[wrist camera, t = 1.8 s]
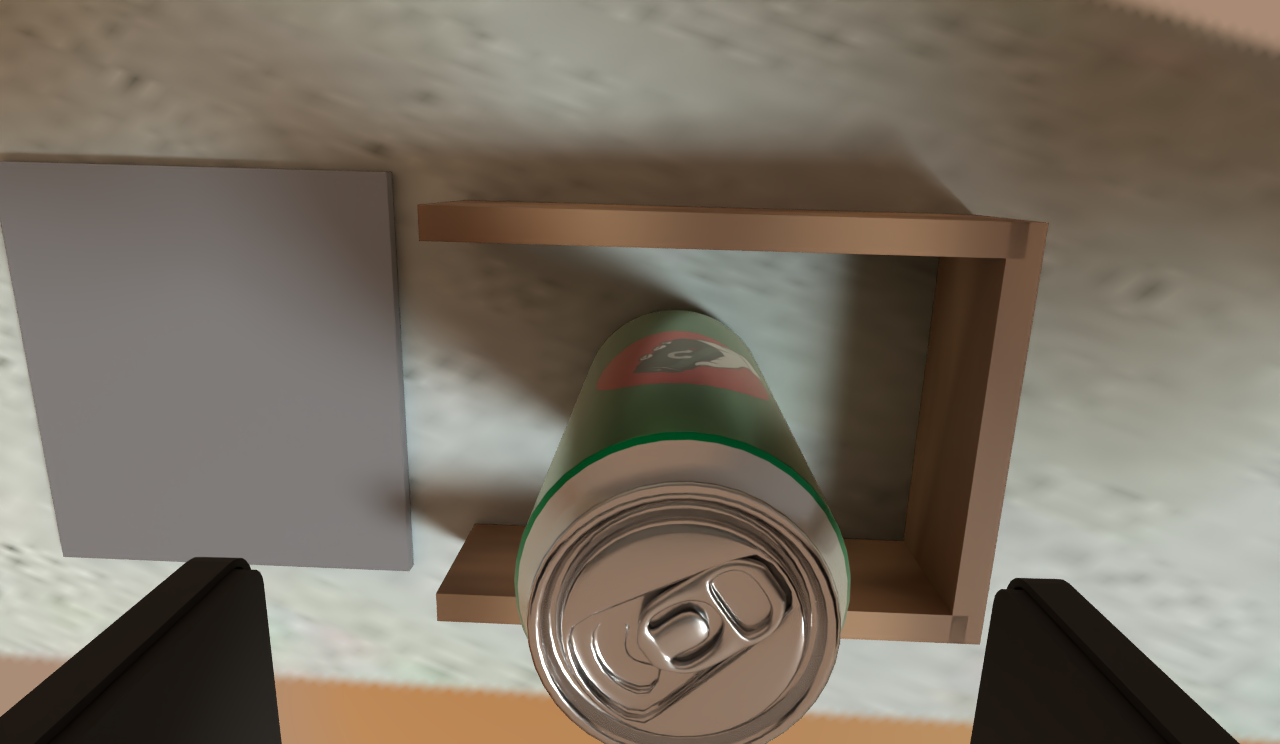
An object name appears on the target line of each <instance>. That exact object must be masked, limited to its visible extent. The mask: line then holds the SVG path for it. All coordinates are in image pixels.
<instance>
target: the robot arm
mask: <svg viewBox="0 0 1280 744" xmlns="http://www.w3.org/2000/svg"><path fill="white" fill-rule="evenodd" d="M0 744H282V743H281V734H280V725H279V717H278V707H277V698H276V689H275V681H274V672H273V663H272V654H271V645H270V636H269V627H268V618H267V609H266V600H265V591H264V582H263V578H262V575H261V573H260V572H259V571H257V570H251V568H250V565H249V564H248V562H247V561H246V560H245V559H243V558H226V557H194V558H192V559H190V560H189V561H187V562H186V563H185V564H184V565H182V566H181V567H180V568H179V569H178V570H176V571H175V572H174V573H173V574H172V575H170V576H169V577H168V578H167V579H166V580H164V581H163V582H162V583H161V584H160V585H158V586H157V587H156V588H155V589H154V590H152V591H151V592H150V593H149V594H148V595H146V596H145V597H144V598H143V599H142V600H140V601H139V602H138V603H137V604H136V605H134V606H133V607H132V608H131V609H130V610H128V611H127V612H126V613H125V614H124V615H122V616H121V617H120V618H119V619H118V620H116V621H115V622H114V623H113V624H111V625H110V626H109V627H108V628H107V629H105V630H104V631H103V632H102V633H101V634H99V635H98V636H97V637H96V638H95V639H93V640H92V641H91V642H90V643H89V644H87V645H86V646H85V647H84V648H83V649H81V650H80V651H79V652H78V653H77V654H75V655H74V656H73V657H72V658H71V659H69V660H68V661H67V662H66V663H65V664H63V665H62V666H61V667H60V668H59V669H57V670H56V671H55V672H54V673H53V674H51V675H50V676H49V677H48V678H47V679H45V680H44V681H43V682H42V683H41V684H40V685H38V686H37V687H36V688H35V689H33V691H31V692H30V693H29V694H27V695H26V696H25V697H24V698H23V699H21V700H20V701H19V702H18V703H17V704H16V705H14V706H13V707H12V708H11V709H10V710H8V711H7V712H6V713H5V714H3V715H2V716H1V717H0ZM970 744H1239V743H1238V742H1237V741H1236V740H1235V739H1234V738H1233V737H1232V736H1231V735H1230V734H1229V733H1228V732H1227V731H1226V730H1224V729H1223V728H1222V727H1221V726H1220V725H1219V724H1218V723H1217V722H1216V721H1215V720H1214V719H1213V718H1212V717H1211V716H1210V715H1208V714H1207V713H1206V712H1205V711H1204V710H1203V709H1202V708H1201V707H1200V706H1199V705H1198V704H1197V703H1196V702H1195V701H1194V700H1193V699H1191V698H1190V697H1189V696H1188V695H1187V694H1186V693H1185V692H1184V691H1183V690H1182V689H1181V688H1180V687H1179V686H1178V685H1177V684H1176V683H1174V682H1173V681H1172V680H1171V679H1170V678H1169V677H1168V676H1167V675H1166V674H1165V673H1164V672H1163V671H1162V670H1161V669H1160V668H1159V667H1157V666H1156V665H1155V664H1154V663H1153V662H1152V661H1151V660H1150V659H1149V658H1148V657H1147V656H1146V655H1145V654H1144V653H1143V652H1141V651H1140V650H1139V649H1138V648H1137V647H1136V646H1135V645H1134V644H1133V643H1132V642H1131V641H1130V640H1129V639H1128V638H1127V637H1126V636H1124V635H1123V634H1122V633H1121V632H1120V631H1119V630H1118V629H1117V628H1116V627H1115V626H1114V625H1113V624H1112V623H1111V622H1110V621H1109V620H1107V619H1106V618H1105V617H1104V616H1103V615H1102V614H1101V613H1100V612H1099V611H1098V610H1097V609H1096V608H1095V607H1094V606H1093V605H1092V604H1090V603H1089V602H1088V601H1087V600H1086V599H1085V598H1084V597H1083V596H1082V595H1081V594H1080V593H1079V592H1078V591H1077V590H1076V589H1074V588H1073V587H1072V586H1071V585H1070V584H1069V583H1068V582H1066V581H1064V580H1061V579H1033V578H1015V579H1013V580H1012V581H1011V582H1010V584H1009V585H1008V587H1007V589H1001V590H999V591H998V592H997V593H996V595H995V598H994V602H993V608H992V614H991V620H990V626H989V632H988V639H987V645H986V651H985V657H984V663H983V669H982V675H981V681H980V687H979V693H978V699H977V706H976V712H975V718H974V724H973V730H972V736H971V742H970Z"/></svg>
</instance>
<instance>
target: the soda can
mask: <svg viewBox="0 0 1280 744" xmlns="http://www.w3.org/2000/svg"><path fill="white" fill-rule="evenodd" d="M850 581H851V575H850V567H849V560H848V553H847V549H846V546H845V543H844V540H843V537H842V534H841V531H840V528H839V526H838V524H837V522H836V520H835V518H834V516H833V514H832V512H831V510H830V508H829V506H828V504H827V502H826V500H825V498H824V496H823V494H822V492H821V490H820V488H819V486H818V484H817V482H816V480H815V478H814V476H813V474H812V472H811V470H810V468H809V466H808V464H807V462H806V460H805V458H804V456H803V454H802V452H801V450H800V448H799V446H798V444H797V442H796V440H795V438H794V436H793V434H792V432H791V430H790V428H789V426H788V424H787V422H786V420H785V418H784V416H783V414H782V412H781V410H780V408H779V406H778V404H777V402H776V400H775V398H774V396H773V394H772V393H771V391H770V389H769V387H768V385H767V383H766V381H765V379H764V377H763V375H762V373H761V371H760V369H759V367H758V365H757V363H756V361H755V359H754V357H753V355H752V353H751V351H750V350H749V348H748V347H747V346H746V344H745V343H744V342H743V340H742V339H741V338H740V337H739V336H738V335H737V334H736V333H734V332H733V331H732V330H731V329H730V328H728V327H727V326H725V325H724V324H722V323H721V322H719V321H717V320H715V319H713V318H711V317H709V316H707V315H703V314H700V313H696V312H693V311H685V310H663V311H657V312H652V313H648V314H646V315H643V316H640V317H637V318H635V319H633V320H632V321H630V322H628V323H626V324H624V325H623V326H622V327H620V328H619V329H618V330H617V331H615V332H614V333H613V334H612V335H611V336H610V337H609V338H608V339H607V340H606V341H605V342H604V344H603V345H602V346H601V348H600V349H599V351H598V352H597V354H596V356H595V358H594V360H593V362H592V365H591V367H590V369H589V372H588V374H587V377H586V379H585V381H584V384H583V386H582V389H581V391H580V394H579V396H578V399H577V401H576V404H575V406H574V409H573V411H572V414H571V416H570V418H569V421H568V423H567V426H566V428H565V431H564V433H563V436H562V438H561V441H560V443H559V446H558V448H557V451H556V453H555V455H554V458H553V460H552V463H551V465H550V468H549V470H548V473H547V475H546V478H545V480H544V483H543V485H542V488H541V490H540V492H539V495H538V497H537V500H536V502H535V505H534V507H533V510H532V512H531V515H530V517H529V520H528V522H527V525H526V527H525V529H524V532H523V534H522V538H521V542H520V546H519V550H518V553H517V557H516V567H515V579H514V584H515V595H516V605H517V609H518V613H519V616H520V620H521V624H522V628H523V630H524V632H525V634H526V636H527V639H528V643H529V648H530V652H531V655H532V659H533V663H534V666H535V669H536V671H537V673H538V675H539V677H540V680H541V682H542V684H543V686H544V687H545V689H546V690H547V692H548V693H549V695H550V696H551V698H552V699H553V701H554V702H555V704H556V705H557V706H558V707H559V708H560V709H561V710H562V711H563V712H564V713H565V715H566V716H567V717H568V718H569V719H570V720H571V721H573V722H574V723H575V724H576V725H577V726H579V727H580V728H581V729H583V730H584V731H585V732H586V733H587V734H589V735H591V736H592V737H594V738H596V739H597V740H599V741H601V742H603V743H604V744H766V743H768V742H769V741H771V740H773V739H774V738H776V737H778V736H779V735H781V734H782V733H784V732H785V731H786V730H787V729H789V728H790V727H791V726H792V725H794V724H795V723H796V722H797V721H798V720H799V719H801V718H802V717H803V715H804V714H805V713H806V712H807V711H808V710H809V709H810V707H811V706H812V705H813V704H814V703H815V702H816V700H817V699H818V697H819V695H820V694H821V692H822V691H823V689H824V687H825V686H826V684H827V682H828V680H829V677H830V675H831V673H832V670H833V668H834V665H835V663H836V658H837V653H838V649H839V644H840V638H841V631H842V629H843V626H844V624H845V620H846V615H847V610H848V606H849V601H850Z"/></svg>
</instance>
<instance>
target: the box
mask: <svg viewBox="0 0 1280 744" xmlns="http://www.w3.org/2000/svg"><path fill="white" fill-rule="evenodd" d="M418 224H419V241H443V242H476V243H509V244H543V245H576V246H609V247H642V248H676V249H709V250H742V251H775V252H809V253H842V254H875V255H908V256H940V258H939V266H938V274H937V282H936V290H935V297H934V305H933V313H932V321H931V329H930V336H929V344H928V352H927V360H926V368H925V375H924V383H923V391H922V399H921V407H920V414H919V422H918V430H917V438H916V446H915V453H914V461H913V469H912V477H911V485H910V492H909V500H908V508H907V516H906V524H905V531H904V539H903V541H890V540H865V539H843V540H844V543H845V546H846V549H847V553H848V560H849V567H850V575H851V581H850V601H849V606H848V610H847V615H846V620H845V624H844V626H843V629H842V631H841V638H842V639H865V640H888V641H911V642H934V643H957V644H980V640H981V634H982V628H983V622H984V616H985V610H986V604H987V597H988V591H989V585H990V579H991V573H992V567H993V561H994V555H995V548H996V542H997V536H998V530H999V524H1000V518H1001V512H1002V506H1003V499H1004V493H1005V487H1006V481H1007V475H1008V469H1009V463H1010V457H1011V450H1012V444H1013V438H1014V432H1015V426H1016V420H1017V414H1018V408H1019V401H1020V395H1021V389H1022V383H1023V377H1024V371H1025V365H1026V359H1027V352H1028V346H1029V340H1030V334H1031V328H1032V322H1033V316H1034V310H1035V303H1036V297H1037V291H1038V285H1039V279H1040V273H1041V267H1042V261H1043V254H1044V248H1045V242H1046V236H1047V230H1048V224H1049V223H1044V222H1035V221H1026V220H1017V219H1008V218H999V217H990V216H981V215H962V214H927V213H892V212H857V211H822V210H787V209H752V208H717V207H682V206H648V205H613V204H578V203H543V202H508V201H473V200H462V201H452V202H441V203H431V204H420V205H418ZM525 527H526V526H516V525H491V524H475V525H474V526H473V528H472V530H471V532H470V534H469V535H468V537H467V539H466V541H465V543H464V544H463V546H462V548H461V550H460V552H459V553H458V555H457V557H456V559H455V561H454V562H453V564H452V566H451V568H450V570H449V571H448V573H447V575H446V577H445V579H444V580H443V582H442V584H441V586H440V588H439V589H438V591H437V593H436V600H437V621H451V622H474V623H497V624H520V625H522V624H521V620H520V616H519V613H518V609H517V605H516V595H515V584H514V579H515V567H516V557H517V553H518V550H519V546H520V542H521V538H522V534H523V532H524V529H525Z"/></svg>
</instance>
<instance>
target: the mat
mask: <svg viewBox="0 0 1280 744" xmlns="http://www.w3.org/2000/svg"><path fill="white" fill-rule="evenodd" d="M0 222H1V227H2V232H3V238H4V243H5V248H6V254H7V259H8V264H9V269H10V275H11V280H12V285H13V291H14V296H15V301H16V307H17V312H18V317H19V323H20V328H21V333H22V339H23V344H24V349H25V355H26V360H27V365H28V371H29V376H30V381H31V387H32V392H33V397H34V403H35V408H36V413H37V419H38V424H39V429H40V435H41V440H42V445H43V451H44V456H45V461H46V467H47V472H48V477H49V482H50V488H51V493H52V498H53V504H54V509H55V514H56V520H57V525H58V530H59V536H60V541H61V546H62V552H63V557H81V558H105V559H129V560H153V561H177V562H187V561H189V560H190V559H192V558H194V557H226V558H243V559H245V560H246V561H247V562H248V564H249V565H273V566H297V567H320V568H344V569H368V570H392V571H410V569H411V568H412V566H413V565H414V563H413V545H412V528H411V510H410V492H409V474H408V456H407V438H406V420H405V402H404V384H403V367H402V349H401V331H400V313H399V295H398V277H397V259H396V241H395V223H394V206H393V188H392V172H369V171H333V170H297V169H261V168H225V167H189V166H153V165H117V164H80V163H44V162H8V161H0Z"/></svg>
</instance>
